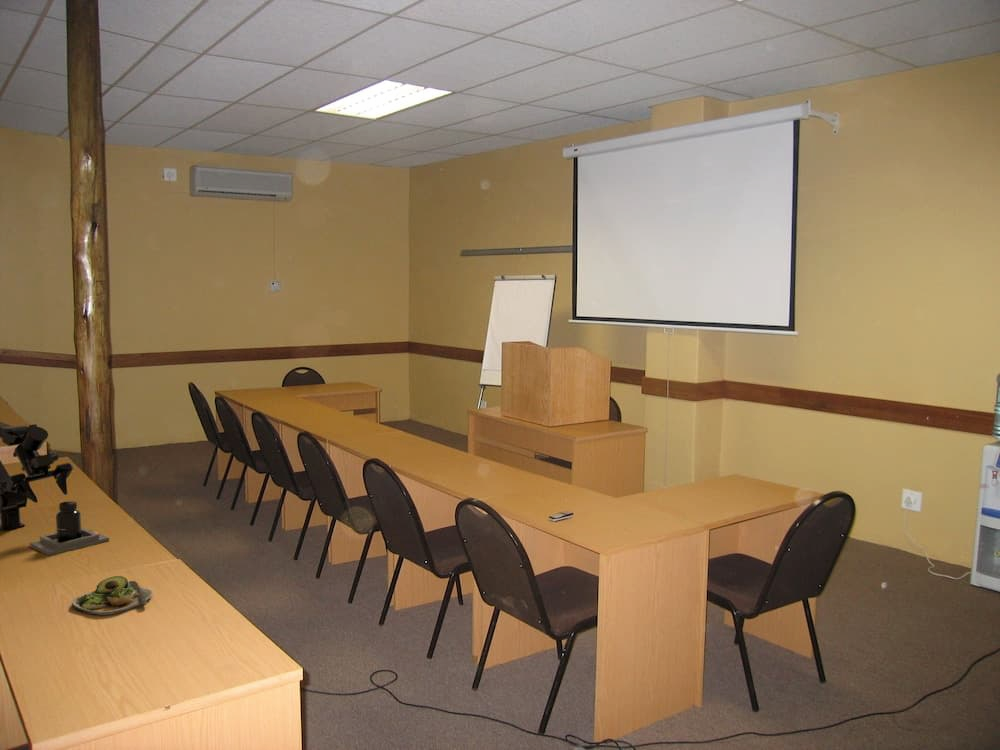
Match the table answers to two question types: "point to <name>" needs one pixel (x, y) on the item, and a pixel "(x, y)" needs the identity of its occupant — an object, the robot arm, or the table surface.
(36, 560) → the table surface
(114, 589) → the salad plate
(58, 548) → the grey recessed tray
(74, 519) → the supplement bottle
